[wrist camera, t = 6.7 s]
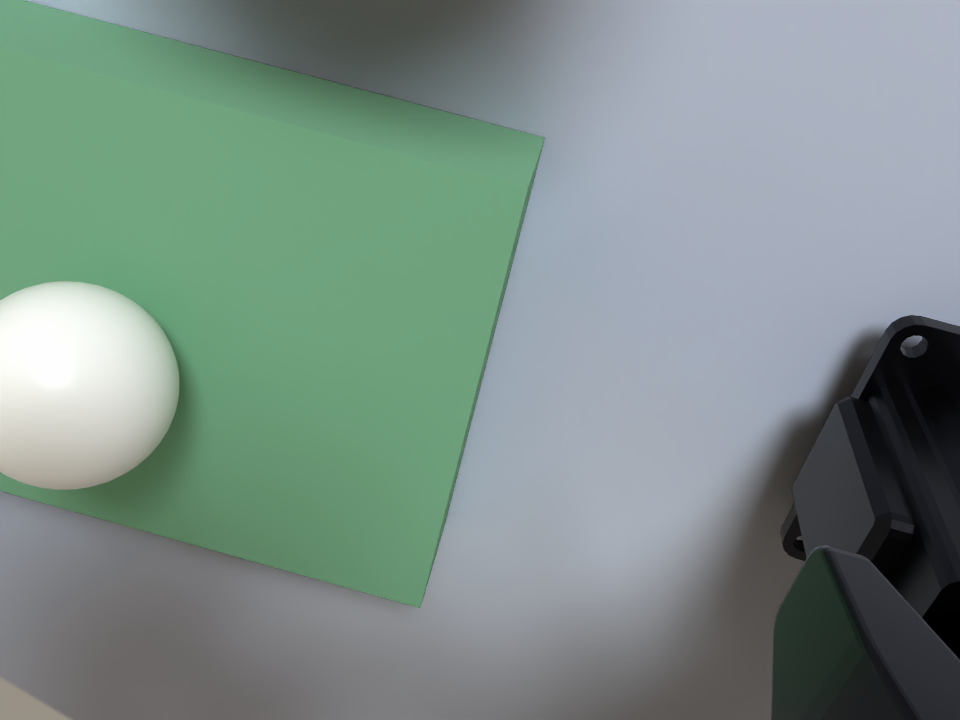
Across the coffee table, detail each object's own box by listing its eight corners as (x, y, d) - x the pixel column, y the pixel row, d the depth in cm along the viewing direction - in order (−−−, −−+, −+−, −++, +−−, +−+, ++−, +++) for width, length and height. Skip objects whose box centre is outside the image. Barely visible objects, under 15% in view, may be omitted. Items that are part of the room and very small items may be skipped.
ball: (-113, 283, 16) (89, 225, 19) (-83, 459, 18) (93, 381, 21) (36, 390, 14) (228, 308, 17) (48, 567, 16) (217, 467, 19)
